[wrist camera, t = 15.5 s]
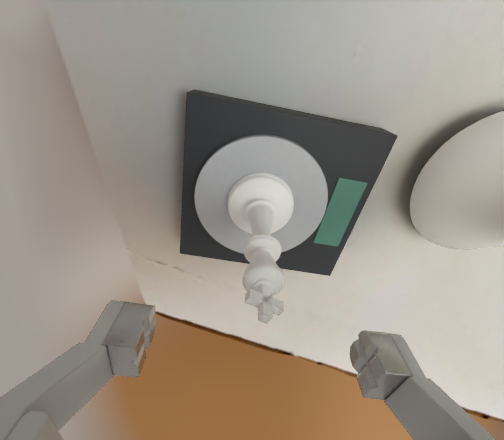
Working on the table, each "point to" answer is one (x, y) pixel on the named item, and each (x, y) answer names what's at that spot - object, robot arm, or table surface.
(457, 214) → the flower in vase
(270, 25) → the table surface
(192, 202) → the scale
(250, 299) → the chess piece
